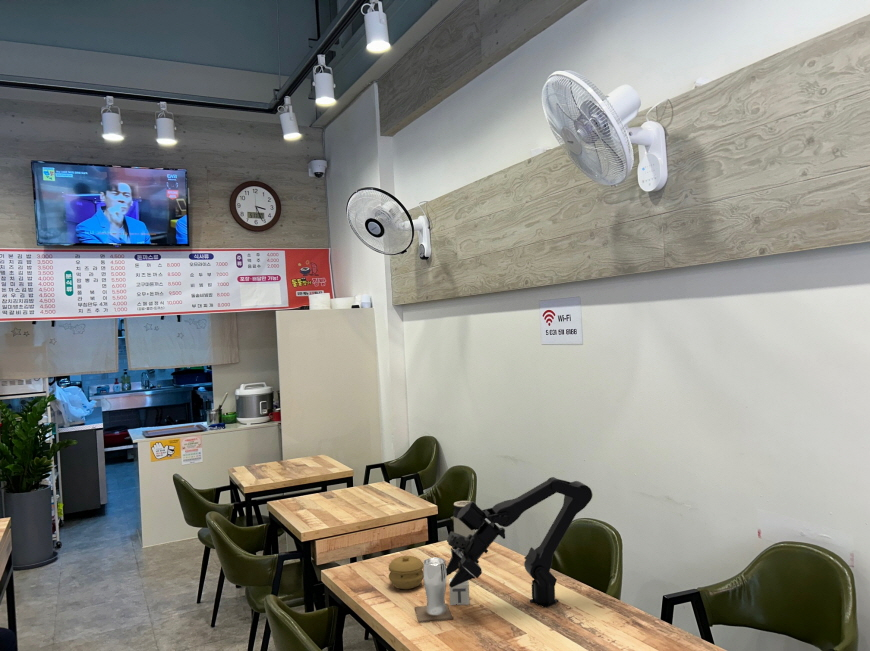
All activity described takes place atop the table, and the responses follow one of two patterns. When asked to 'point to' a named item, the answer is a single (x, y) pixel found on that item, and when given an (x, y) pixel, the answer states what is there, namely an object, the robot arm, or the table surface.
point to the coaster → (424, 617)
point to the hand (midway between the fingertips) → (447, 580)
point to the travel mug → (458, 525)
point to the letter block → (459, 593)
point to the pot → (406, 572)
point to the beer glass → (435, 585)
